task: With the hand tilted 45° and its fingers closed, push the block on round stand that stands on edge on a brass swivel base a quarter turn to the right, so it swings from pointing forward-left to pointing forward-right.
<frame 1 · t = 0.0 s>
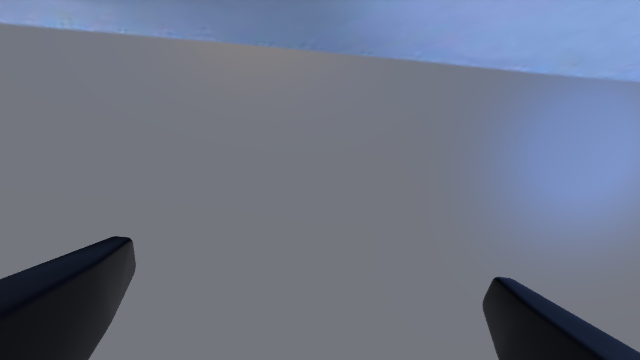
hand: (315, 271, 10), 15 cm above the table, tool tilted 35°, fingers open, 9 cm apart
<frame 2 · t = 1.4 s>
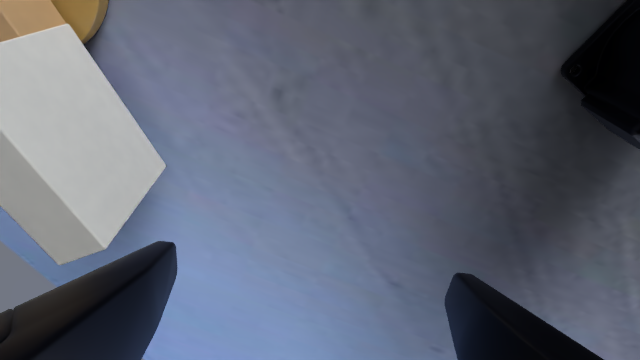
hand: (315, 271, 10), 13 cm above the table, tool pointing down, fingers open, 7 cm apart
block on round stand: (23, 87, 16), point 5 cm above the table, hinge at 0.0°
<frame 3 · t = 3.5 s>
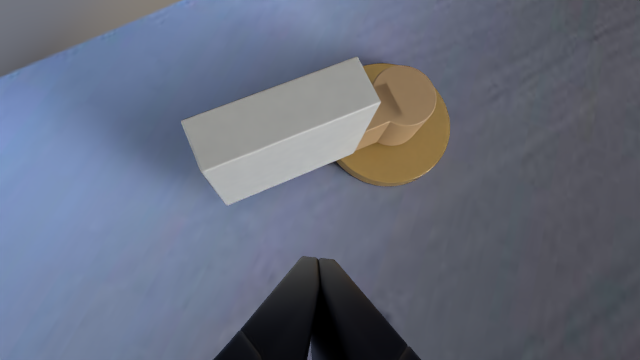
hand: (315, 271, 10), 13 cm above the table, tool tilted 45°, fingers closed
swivel base: (384, 126, 26), on the table
block on round stand: (327, 123, 20), point 5 cm above the table, hinge at 0.0°
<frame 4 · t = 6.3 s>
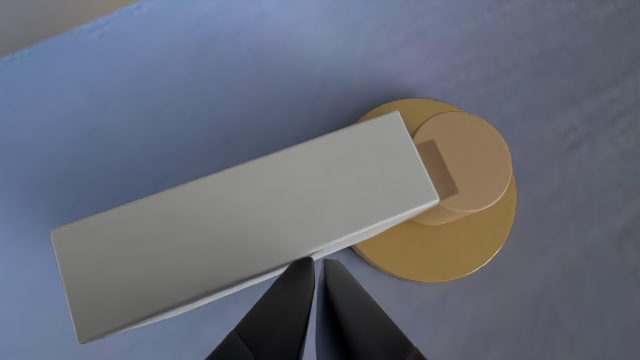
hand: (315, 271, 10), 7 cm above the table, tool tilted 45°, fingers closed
swivel base: (418, 189, 18), on the table
block on round stand: (337, 205, 12), point 5 cm above the table, hinge at 2.2°, touching gripper
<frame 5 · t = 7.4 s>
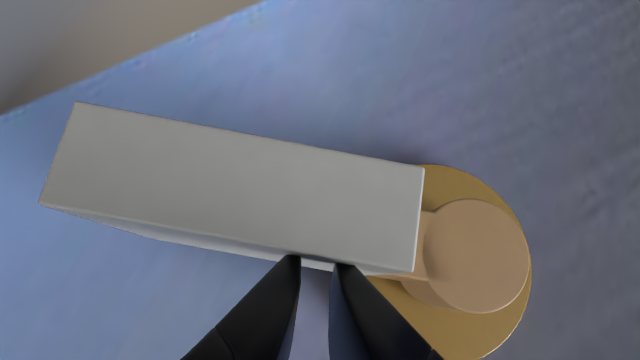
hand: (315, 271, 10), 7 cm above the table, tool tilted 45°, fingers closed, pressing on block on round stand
swivel base: (427, 260, 17), on the table
block on round stand: (332, 225, 12), point 5 cm above the table, hinge at 33.1°, touching gripper
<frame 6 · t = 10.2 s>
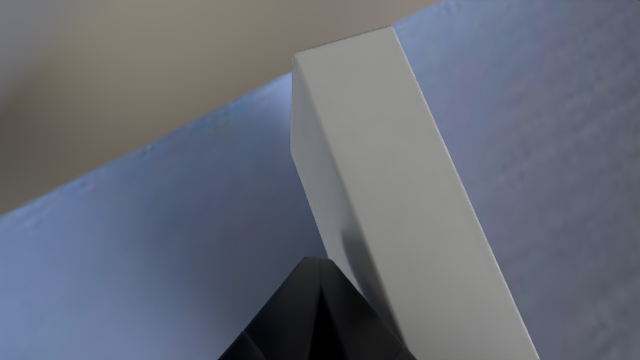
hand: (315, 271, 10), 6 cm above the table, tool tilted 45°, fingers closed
block on round stand: (407, 309, 11), point 5 cm above the table, hinge at 93.7°, touching gripper
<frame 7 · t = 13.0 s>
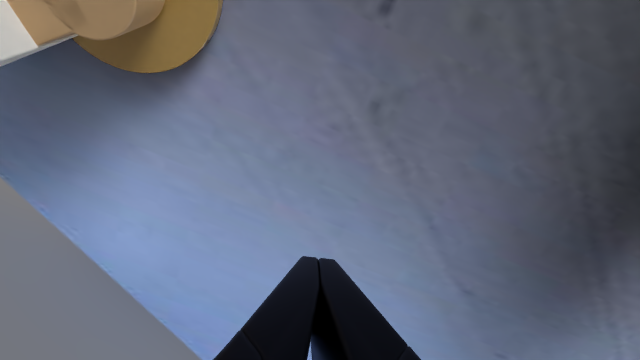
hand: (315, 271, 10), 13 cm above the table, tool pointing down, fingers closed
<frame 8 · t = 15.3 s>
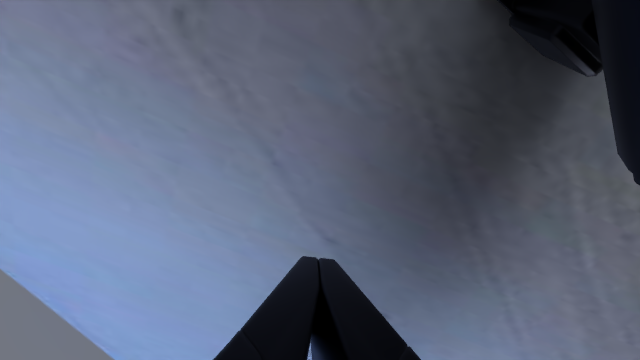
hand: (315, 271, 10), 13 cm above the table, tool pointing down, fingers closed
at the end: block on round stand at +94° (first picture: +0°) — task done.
